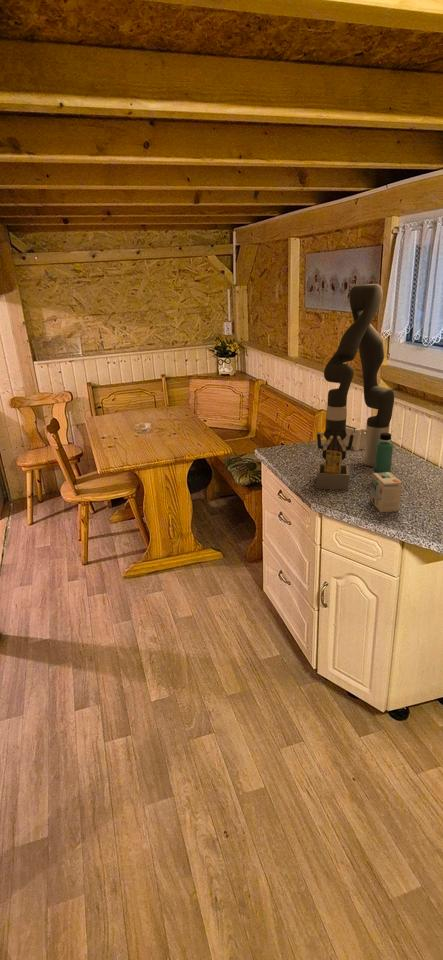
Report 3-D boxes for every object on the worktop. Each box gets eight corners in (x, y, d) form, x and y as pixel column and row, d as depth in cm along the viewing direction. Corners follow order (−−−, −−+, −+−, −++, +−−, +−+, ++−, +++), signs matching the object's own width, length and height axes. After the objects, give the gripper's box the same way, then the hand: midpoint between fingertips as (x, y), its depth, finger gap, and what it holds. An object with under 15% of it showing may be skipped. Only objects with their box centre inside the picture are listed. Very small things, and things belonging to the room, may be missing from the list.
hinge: (368, 450, 240) (370, 429, 237) (362, 452, 237) (363, 431, 233) (343, 444, 250) (344, 424, 246) (336, 446, 246) (337, 426, 243)
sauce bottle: (322, 479, 199) (324, 430, 192) (325, 474, 205) (328, 425, 198) (339, 481, 197) (342, 431, 190) (342, 475, 202) (345, 427, 195)
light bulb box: (369, 500, 186) (372, 472, 182) (387, 499, 186) (390, 471, 182) (380, 512, 176) (383, 483, 172) (399, 511, 176) (402, 482, 172)
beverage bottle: (390, 480, 204) (395, 431, 196) (389, 486, 198) (394, 436, 191) (373, 478, 206) (377, 430, 198) (372, 484, 200) (376, 435, 193)
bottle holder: (347, 478, 206) (348, 464, 204) (348, 489, 195) (349, 475, 193) (317, 477, 208) (317, 463, 206) (316, 488, 197) (317, 473, 195)
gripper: (355, 415, 194) (352, 457, 200) (317, 414, 197) (315, 455, 203) (356, 420, 187) (353, 463, 193) (316, 419, 190) (314, 461, 196)
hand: (333, 459), depth 198 cm, fingers closed on sauce bottle, 6 cm apart
